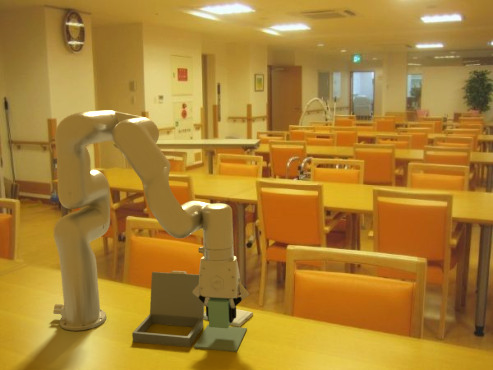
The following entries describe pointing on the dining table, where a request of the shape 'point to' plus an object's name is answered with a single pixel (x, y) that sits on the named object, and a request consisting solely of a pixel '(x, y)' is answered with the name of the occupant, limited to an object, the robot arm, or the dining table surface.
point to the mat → (221, 338)
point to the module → (218, 312)
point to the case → (167, 339)
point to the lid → (175, 294)
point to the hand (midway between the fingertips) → (221, 319)
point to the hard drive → (238, 317)
